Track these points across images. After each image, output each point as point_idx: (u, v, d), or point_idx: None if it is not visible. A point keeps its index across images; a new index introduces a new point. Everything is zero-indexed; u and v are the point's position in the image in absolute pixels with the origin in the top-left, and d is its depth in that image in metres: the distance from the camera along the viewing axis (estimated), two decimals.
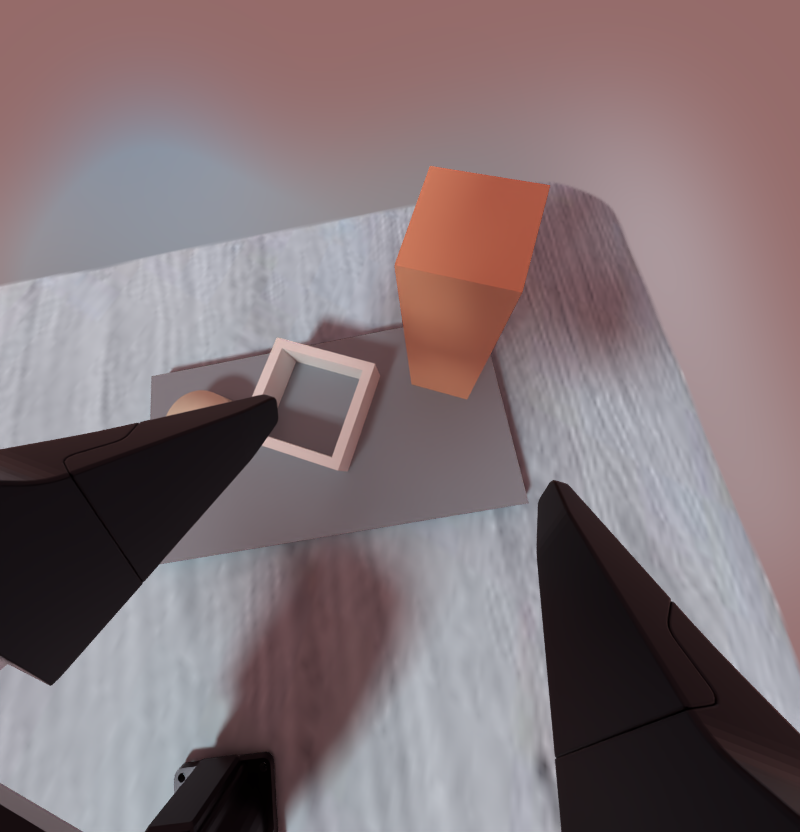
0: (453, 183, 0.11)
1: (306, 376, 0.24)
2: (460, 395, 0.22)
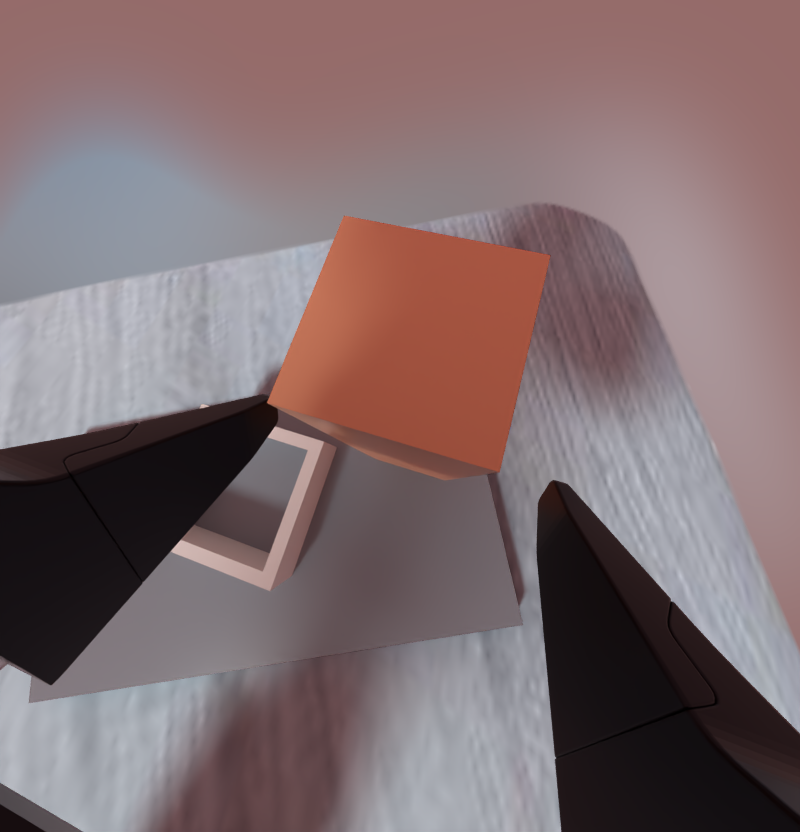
0: (381, 247, 0.06)
1: None
2: (435, 477, 0.17)
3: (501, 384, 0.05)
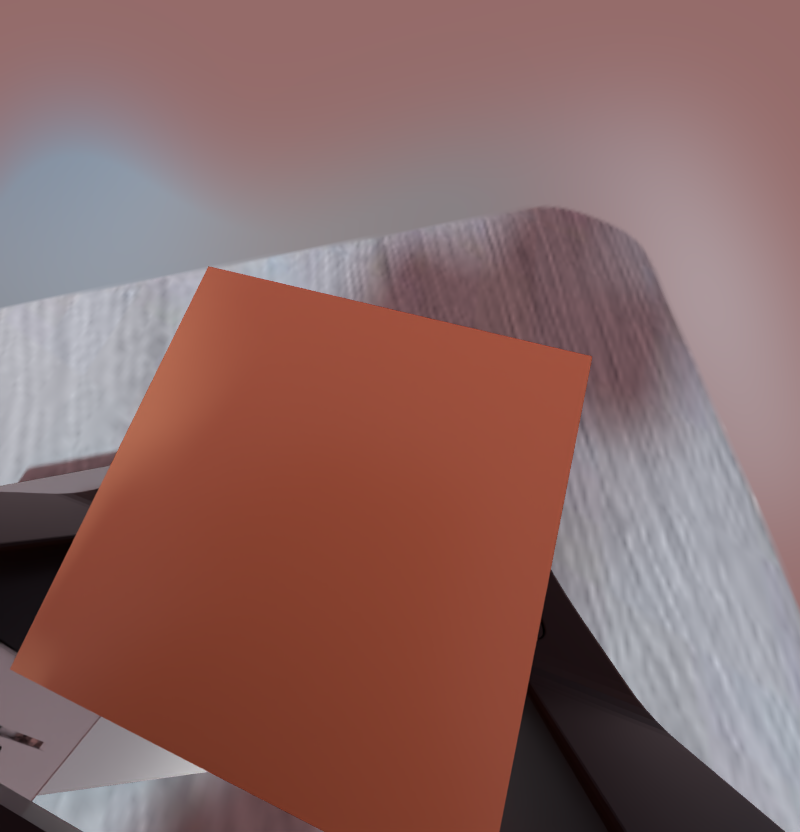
0: (268, 331, 0.03)
1: None
2: None
3: (490, 662, 0.02)
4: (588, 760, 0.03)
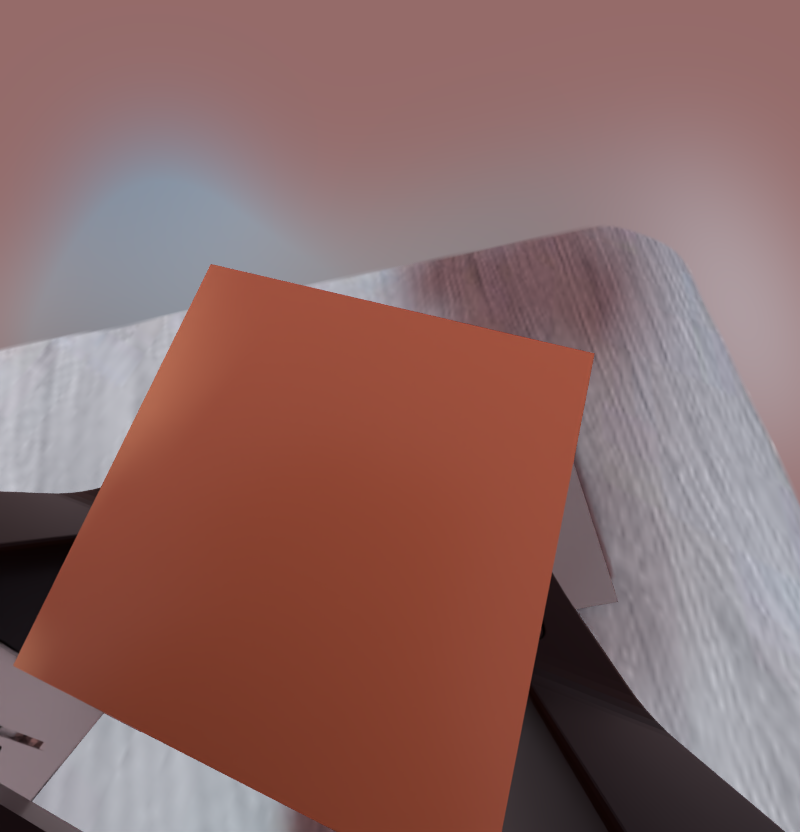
0: (271, 329, 0.03)
1: None
2: None
3: (493, 658, 0.02)
4: (587, 760, 0.03)
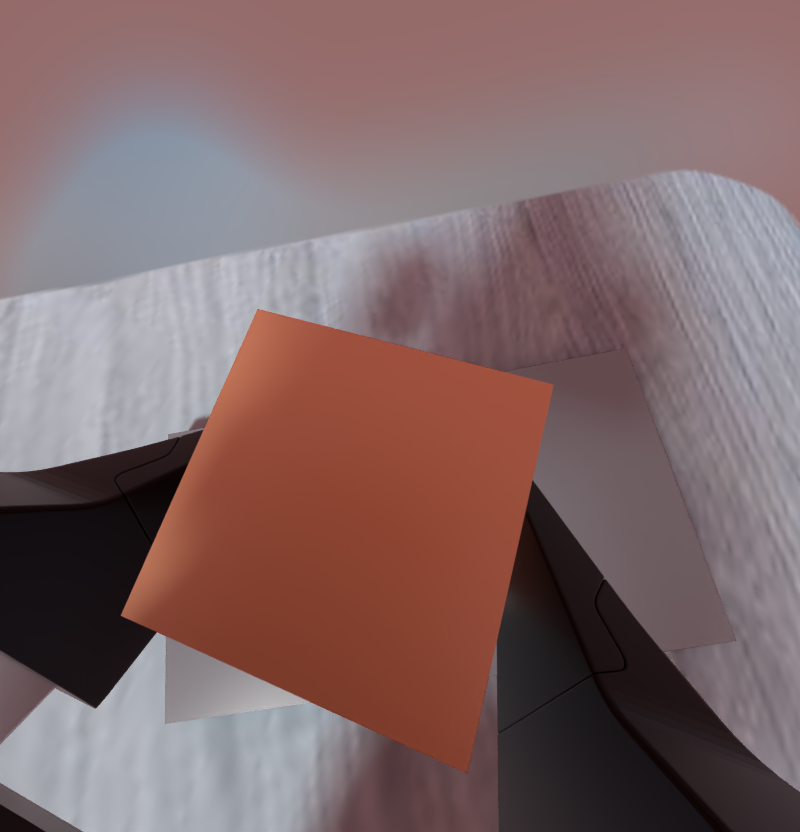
0: (307, 362, 0.04)
1: None
2: None
3: (474, 607, 0.03)
4: (729, 820, 0.02)
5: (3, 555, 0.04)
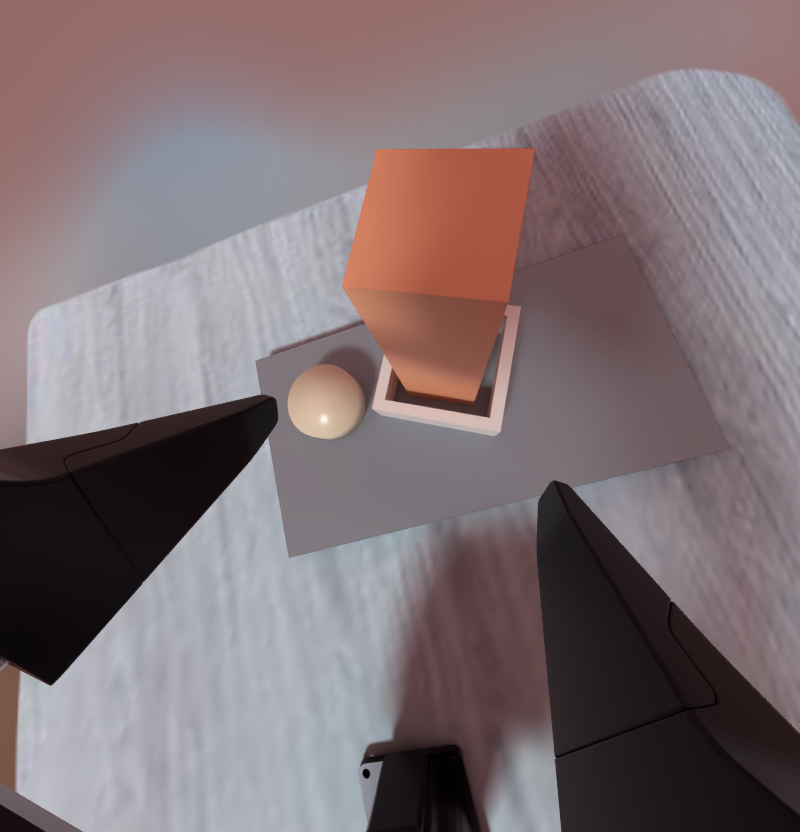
0: (407, 167, 0.08)
1: None
2: (464, 403, 0.19)
3: (505, 245, 0.07)
4: None
5: None
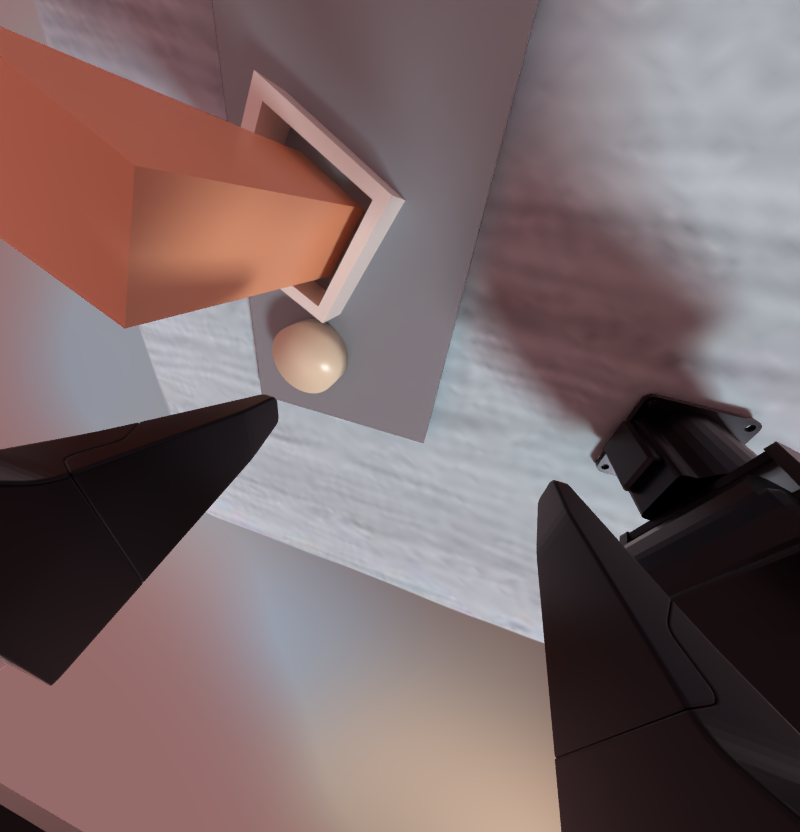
0: None
1: None
2: (355, 218, 0.17)
3: (67, 128, 0.06)
4: None
5: None
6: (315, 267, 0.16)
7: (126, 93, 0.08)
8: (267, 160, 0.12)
